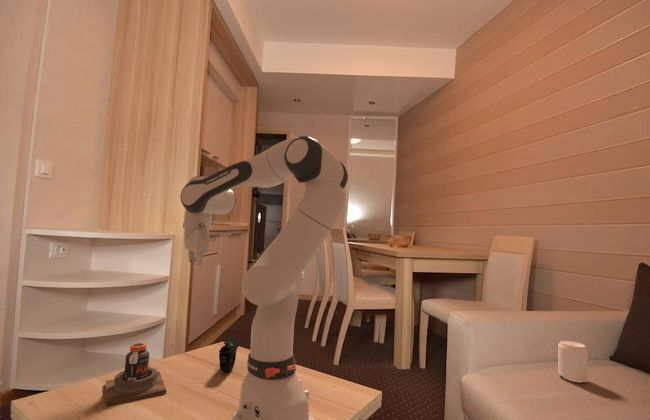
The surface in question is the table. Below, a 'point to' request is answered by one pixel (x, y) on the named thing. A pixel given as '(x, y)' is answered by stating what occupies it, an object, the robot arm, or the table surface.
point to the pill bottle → (136, 362)
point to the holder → (134, 388)
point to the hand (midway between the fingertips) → (194, 264)
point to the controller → (228, 355)
